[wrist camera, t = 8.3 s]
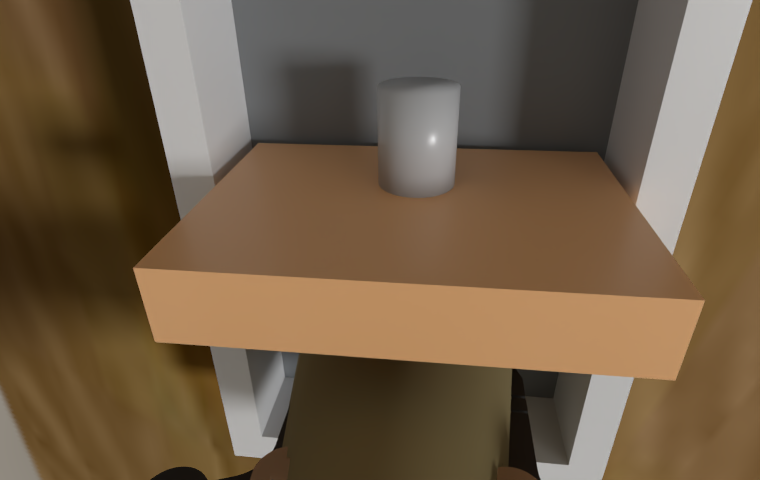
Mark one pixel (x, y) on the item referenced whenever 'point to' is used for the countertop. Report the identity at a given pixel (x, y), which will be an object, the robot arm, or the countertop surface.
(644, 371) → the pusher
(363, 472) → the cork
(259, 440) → the white walled tray
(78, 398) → the countertop surface
